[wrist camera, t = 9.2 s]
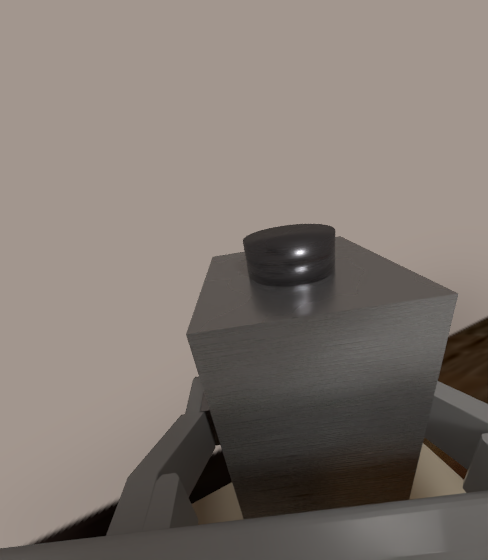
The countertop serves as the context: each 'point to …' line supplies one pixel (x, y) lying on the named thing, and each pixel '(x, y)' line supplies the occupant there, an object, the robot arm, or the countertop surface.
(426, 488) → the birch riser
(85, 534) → the countertop surface
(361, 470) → the aluminium block
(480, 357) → the countertop surface
